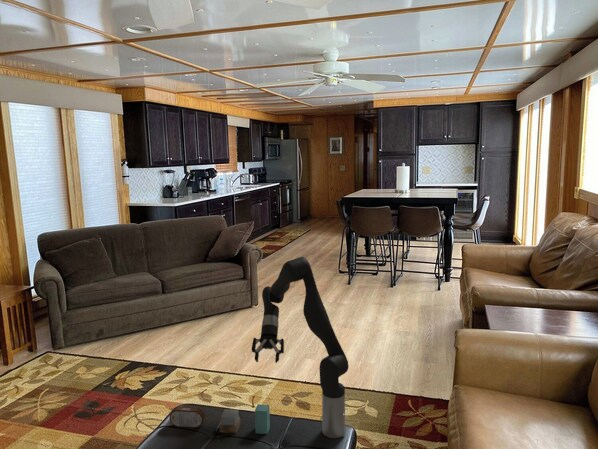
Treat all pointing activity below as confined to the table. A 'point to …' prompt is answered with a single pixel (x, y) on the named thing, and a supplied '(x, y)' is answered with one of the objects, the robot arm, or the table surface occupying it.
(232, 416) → the tower top
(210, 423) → the table surface
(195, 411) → the tin
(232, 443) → the table surface
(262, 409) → the block
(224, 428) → the tower base
